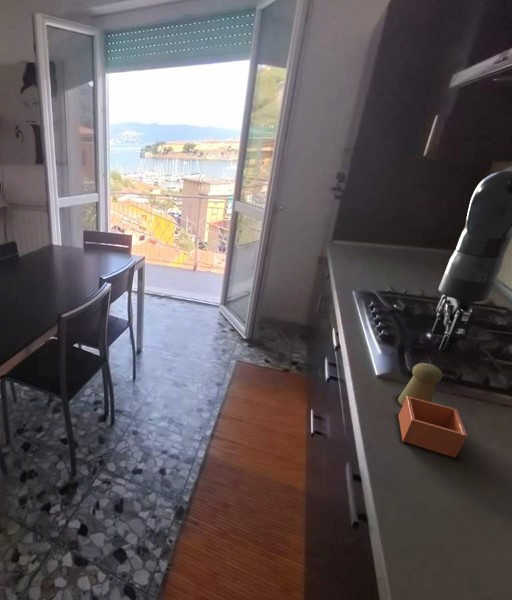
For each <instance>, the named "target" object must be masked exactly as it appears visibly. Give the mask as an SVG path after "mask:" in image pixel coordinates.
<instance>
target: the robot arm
mask: <svg viewBox="0 0 512 600" xmlns="http://www.w3.org/2000/svg"><path fill="white" fill-rule="evenodd" d="M511 242H512V165H510V166H508V167H506V168H504V169H501V170H497V171H494V172H493V173H491V174H489V175H486V176H485V177H484V178H482V179H481V180H480V181H479V183H478V184H477V186H476V187H475V189H474V191H473V193H472V196H471V198H470V202H469V206H468V210H467V216H466V220H465V225H464V227H463V230H462V231H461V234H460V236H459V239H458V240H457V243H456V246H455V249H454V251H453V253H452V254H451V256H450V258H449V260H448V262H447V265H446V268H445V270H444V273H443V276H442V278H441V280H440V283H439V286H438V292H439V293H440V294H442V295H441V297H440V299H439V301H438V303H437V306H436V308H435V312H436V314H435V315H436V319H435V322H434V325H433V327H432V331H431V332H432V333H433V335H438V336H443V338H442V340H441V343H440V345H439V347H438V348H439V351H440V353H444V354H449V355H452V354H454V352H455V350H456V348H457V345H458V344H459V341H466V339H467V337H468V335H469V332H470V330H471V327H472V325H473V322H474V320H475V318H476V316H477V315H476V312H473V307H472V304H473V303H478V302H479V303H480V302H484V301H486V300H487V299H488V298H489V296H490V294H491V291H492V289H493V287H494V285H495V282H496V281H497V278H498V276H499V274H500V272H501V269H502V267H503V263H504V259H505V257H506V254H507V252H508V249H509V247H510V245H511ZM456 330H458V331H457V332H456Z"/></svg>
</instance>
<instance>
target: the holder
mask: <svg viewBox="0 0 512 600" xmlns="http://www.w3.org/2000/svg"><path fill="white" fill-rule="evenodd" d="M397 416H398V423H399V428H400V434H401V441H402V442H404V443H407V444H411V445H414V446H417V447H419V448H423V449H425V450H429V451H432V452H436V453H438V454H442V455H445V456H447V457H452V458H455V459H456V457H457V456H458V454H459V452H460V450H461V448H462V447H463V445H464V443H465V441H466V440H467V438H468V434H467V432H466V429H465V427H464V424H463V421H462V419H461V416H460V413H459V410H458V409H457V408H454V407H451V406H446V405H443V404H439V403H437V402H433V401H432V402H428V401H424V400H421V399H417V398H413V397H409V396H407V397H406V399H405V402H404V404H403V406H402V405H401V409H400V411H399V414H398V415H397Z"/></svg>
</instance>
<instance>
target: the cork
mask: <svg viewBox="0 0 512 600" xmlns="http://www.w3.org/2000/svg"><path fill="white" fill-rule="evenodd" d="M442 379H443V372H442V370H441V369H440V368H439V367H437V366H435V365H433V364H430V363H425V362H420V363H417V364H415V365H414V366H413V367H412V377H411V378H410V380H409V381H408V383H407V384H406V386H405V388H404V389H403V391H402V392H401V394H400V395H399V397H398V398H397V402H398V403H399V405H400V406H401V407H402V406H403V404H404V402H405V399H406V397H407V396H409V397H413V398H417V399H421V400H424V401H428V402H432V403H433V397H434V394H435V389H436V385H437V384H438V383H440V382H441V380H442Z"/></svg>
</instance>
